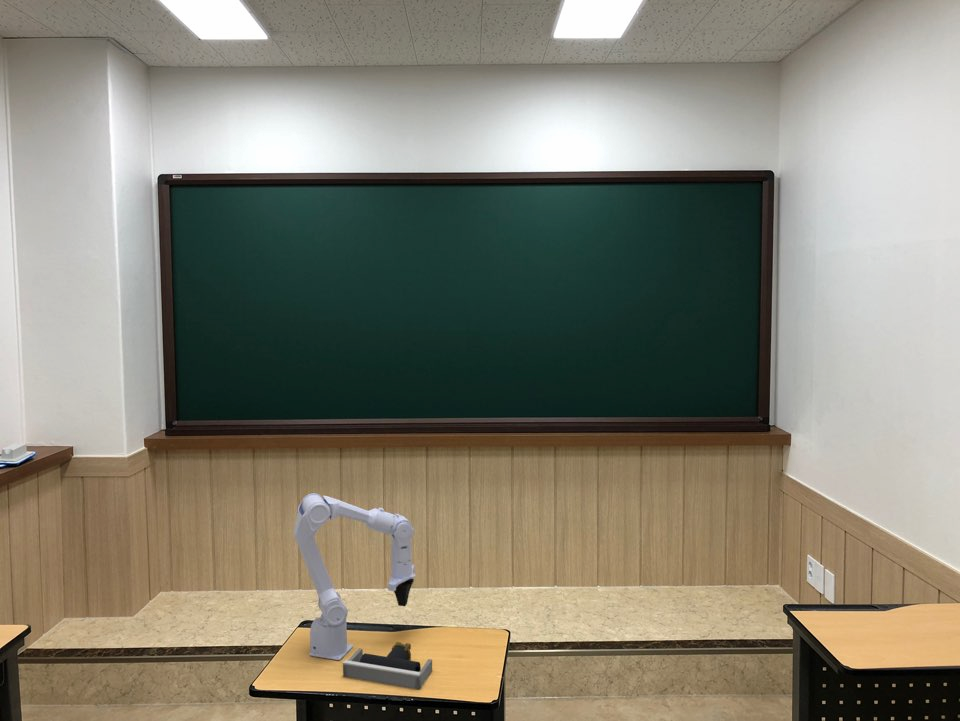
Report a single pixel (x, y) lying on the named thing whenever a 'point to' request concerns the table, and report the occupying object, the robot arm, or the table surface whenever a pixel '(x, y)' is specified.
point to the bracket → (385, 672)
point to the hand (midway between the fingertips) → (402, 605)
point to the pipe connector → (394, 658)
